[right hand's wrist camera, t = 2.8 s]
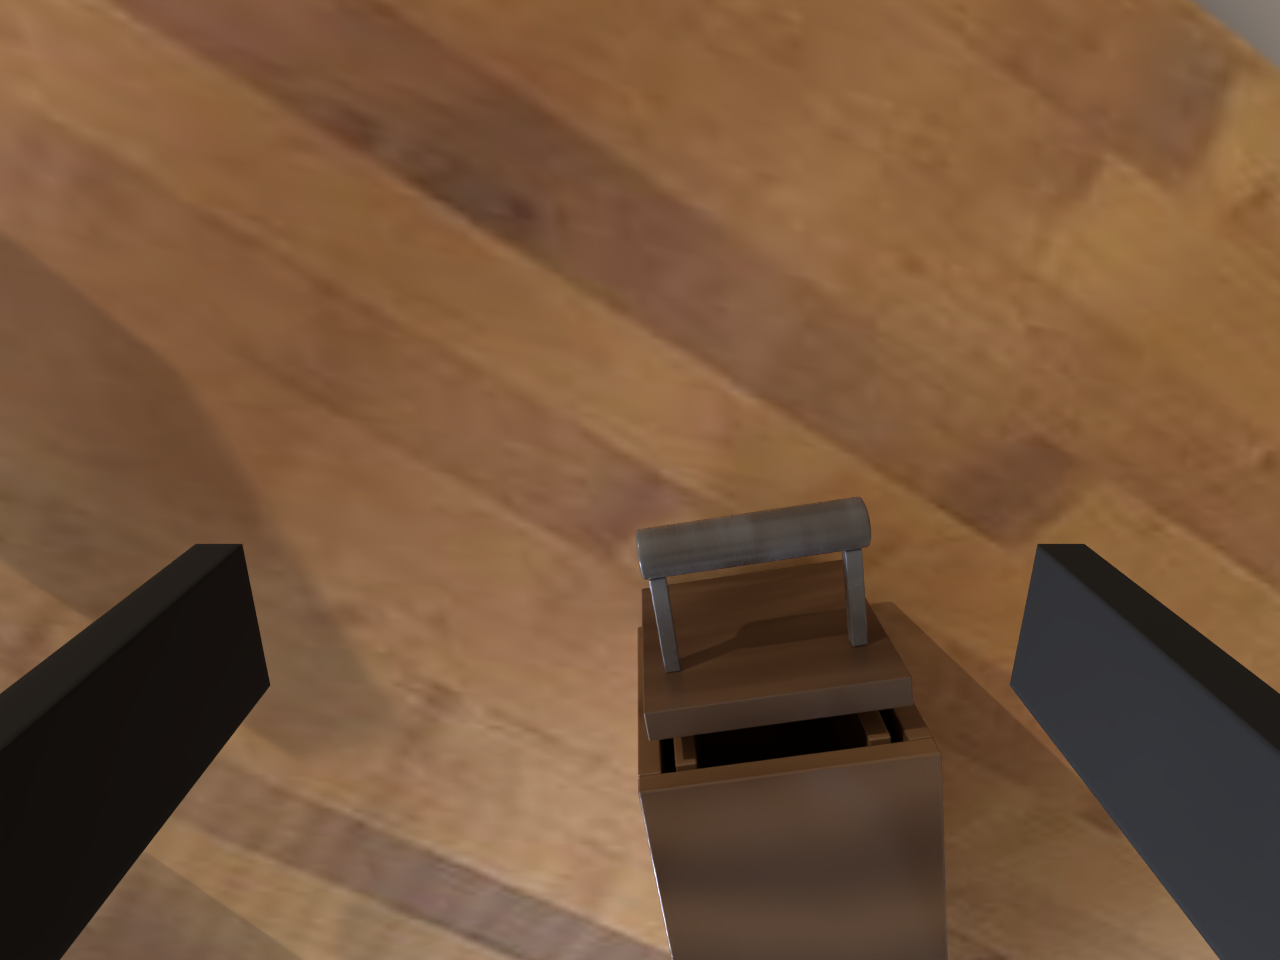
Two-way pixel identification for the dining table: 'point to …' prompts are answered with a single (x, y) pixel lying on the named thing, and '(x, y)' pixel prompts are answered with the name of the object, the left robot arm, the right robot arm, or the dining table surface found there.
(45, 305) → the dining table surface
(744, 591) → the drawer
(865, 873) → the cabinet
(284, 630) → the dining table surface
